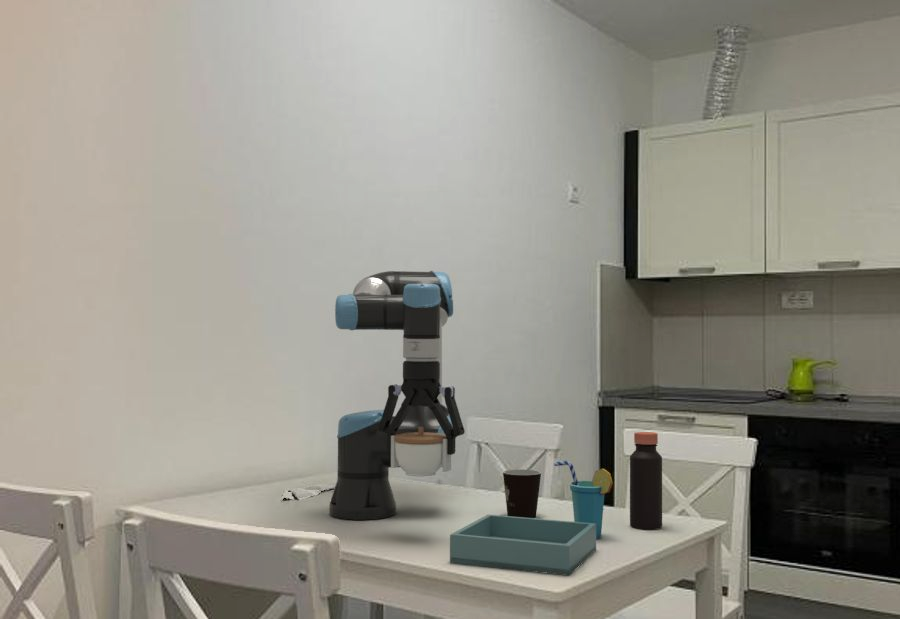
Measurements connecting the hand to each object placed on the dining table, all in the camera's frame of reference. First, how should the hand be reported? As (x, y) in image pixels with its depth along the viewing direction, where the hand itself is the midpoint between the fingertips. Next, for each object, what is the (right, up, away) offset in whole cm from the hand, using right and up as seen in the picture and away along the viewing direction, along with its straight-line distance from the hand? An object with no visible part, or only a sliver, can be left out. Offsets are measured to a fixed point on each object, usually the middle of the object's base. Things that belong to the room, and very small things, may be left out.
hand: (420, 468), depth 183 cm
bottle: (+48, -15, +11) cm, 51 cm away
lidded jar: (0, -1, 0) cm, 1 cm away
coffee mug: (+22, -15, +22) cm, 35 cm away
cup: (+33, -14, +2) cm, 36 cm away
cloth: (-31, -16, +50) cm, 61 cm away
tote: (+20, -13, -15) cm, 28 cm away
